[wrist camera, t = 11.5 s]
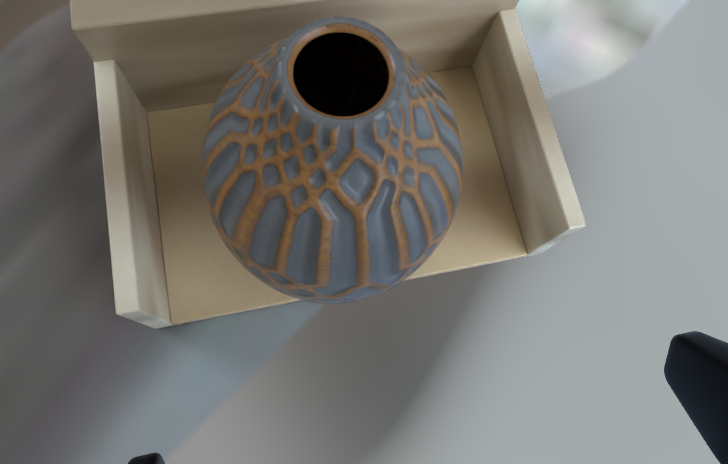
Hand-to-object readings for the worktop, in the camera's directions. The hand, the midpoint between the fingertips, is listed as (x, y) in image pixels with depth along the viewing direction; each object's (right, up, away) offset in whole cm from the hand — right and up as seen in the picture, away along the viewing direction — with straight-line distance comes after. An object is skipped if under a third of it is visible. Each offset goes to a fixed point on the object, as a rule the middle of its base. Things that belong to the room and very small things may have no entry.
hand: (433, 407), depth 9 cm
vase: (-2, +3, +9) cm, 10 cm away
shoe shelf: (-2, +5, +10) cm, 11 cm away
